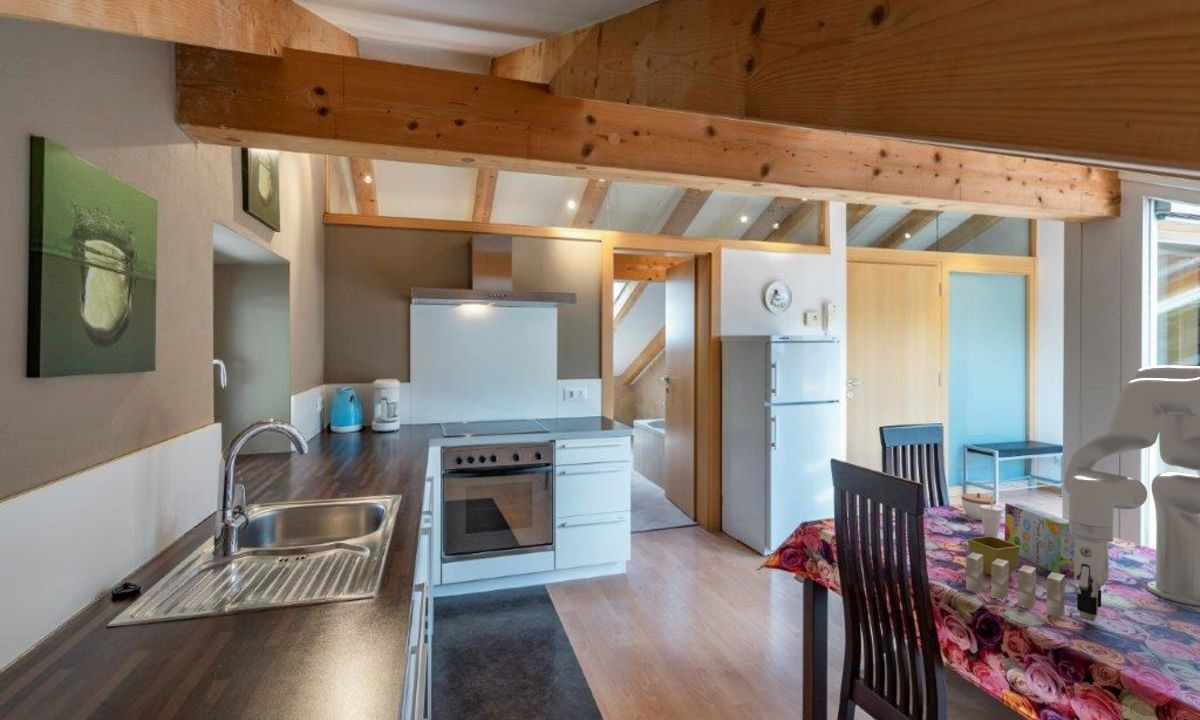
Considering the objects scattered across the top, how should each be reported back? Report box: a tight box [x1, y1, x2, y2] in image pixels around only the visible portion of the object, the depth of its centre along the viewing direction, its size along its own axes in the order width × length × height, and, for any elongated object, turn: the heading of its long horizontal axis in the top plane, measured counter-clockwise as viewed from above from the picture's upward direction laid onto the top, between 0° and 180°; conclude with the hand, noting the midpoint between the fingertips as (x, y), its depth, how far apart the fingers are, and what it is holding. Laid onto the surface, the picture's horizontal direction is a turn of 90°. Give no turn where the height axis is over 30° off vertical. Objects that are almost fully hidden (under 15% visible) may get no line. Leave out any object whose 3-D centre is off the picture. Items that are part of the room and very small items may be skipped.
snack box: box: [1004, 502, 1075, 577], centre depth 158 cm, size 21×6×15 cm, turn 179°
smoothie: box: [980, 494, 1003, 538], centre depth 181 cm, size 6×6×14 cm
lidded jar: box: [961, 492, 997, 521], centre depth 200 cm, size 11×11×9 cm
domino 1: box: [965, 552, 984, 592], centre depth 139 cm, size 2×5×9 cm, turn 129°
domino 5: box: [1079, 580, 1099, 623], centre depth 122 cm, size 2×5×9 cm, turn 129°
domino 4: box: [1046, 572, 1066, 619], centre depth 127 cm, size 2×5×9 cm, turn 129°
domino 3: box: [1017, 564, 1037, 610], centre depth 131 cm, size 2×5×9 cm, turn 129°
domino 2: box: [990, 558, 1010, 600], centre depth 135 cm, size 2×5×9 cm, turn 129°
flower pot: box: [967, 535, 1020, 577], centre depth 149 cm, size 9×9×9 cm
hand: (1089, 607), depth 122 cm, fingers closed on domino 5, 4 cm apart
